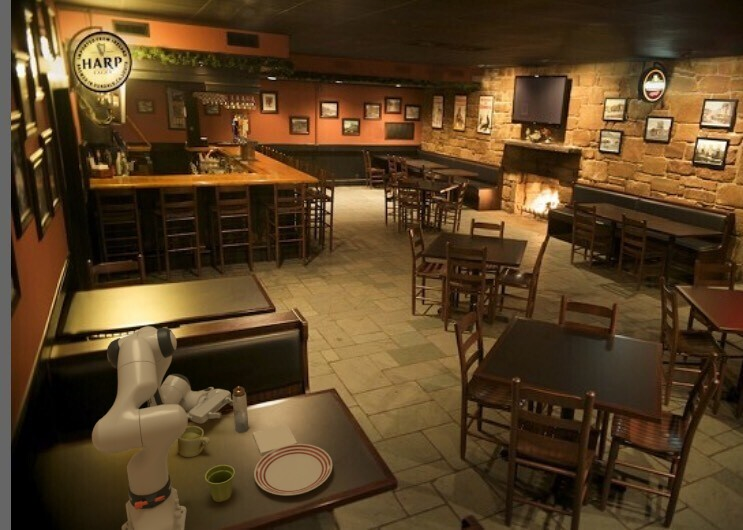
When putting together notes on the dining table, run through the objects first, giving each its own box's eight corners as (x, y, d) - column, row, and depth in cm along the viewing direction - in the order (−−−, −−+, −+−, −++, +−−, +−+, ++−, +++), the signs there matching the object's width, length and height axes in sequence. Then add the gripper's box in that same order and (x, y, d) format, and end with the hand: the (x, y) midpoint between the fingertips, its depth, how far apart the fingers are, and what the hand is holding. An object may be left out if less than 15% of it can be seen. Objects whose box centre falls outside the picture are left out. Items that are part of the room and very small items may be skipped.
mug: (167, 451, 190) (174, 426, 189) (188, 444, 199) (195, 420, 198) (189, 467, 185) (197, 442, 184) (210, 459, 194) (217, 435, 193)
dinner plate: (239, 492, 172) (238, 484, 171) (277, 444, 197) (276, 437, 197) (314, 510, 165) (313, 502, 164) (343, 458, 190) (343, 450, 189)
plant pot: (219, 483, 176) (217, 461, 174) (242, 490, 173) (240, 468, 171) (201, 501, 168) (198, 479, 166) (225, 509, 165) (222, 486, 162)
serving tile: (297, 445, 196) (297, 442, 196) (261, 455, 191) (261, 452, 190) (286, 426, 209) (286, 423, 208) (252, 435, 203) (252, 432, 202)
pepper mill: (249, 430, 205) (246, 387, 200) (236, 434, 203) (233, 390, 198) (247, 424, 210) (243, 381, 204) (234, 427, 208) (230, 384, 202)
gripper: (181, 409, 200) (210, 416, 196) (213, 384, 219) (240, 390, 214) (183, 423, 202) (212, 430, 198) (214, 397, 221) (241, 403, 216)
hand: (227, 409), depth 206 cm, fingers open, 8 cm apart
